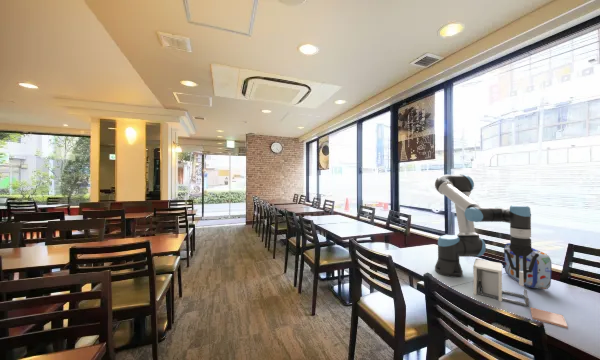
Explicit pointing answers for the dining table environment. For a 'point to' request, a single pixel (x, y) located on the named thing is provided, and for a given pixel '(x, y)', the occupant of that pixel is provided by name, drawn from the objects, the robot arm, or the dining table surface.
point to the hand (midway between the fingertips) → (521, 284)
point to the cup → (490, 282)
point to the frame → (506, 298)
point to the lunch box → (540, 271)
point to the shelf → (488, 266)
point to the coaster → (548, 317)
